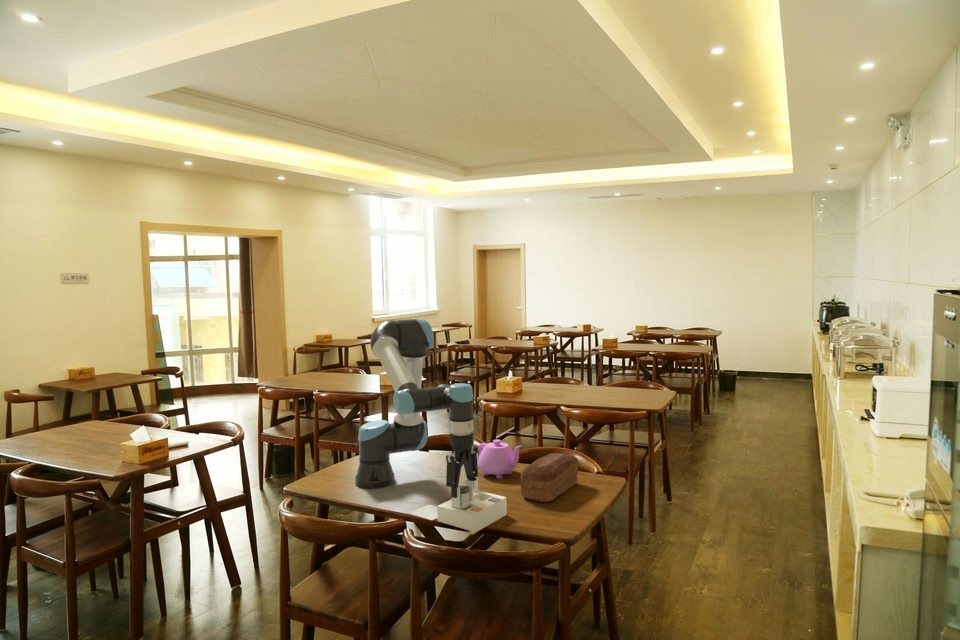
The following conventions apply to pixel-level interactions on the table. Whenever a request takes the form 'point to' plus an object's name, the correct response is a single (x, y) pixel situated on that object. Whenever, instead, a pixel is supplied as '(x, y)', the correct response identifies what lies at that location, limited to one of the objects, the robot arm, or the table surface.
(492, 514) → the socket block
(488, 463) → the teapot
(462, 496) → the plug
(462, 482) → the cup
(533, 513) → the table surface
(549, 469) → the bread
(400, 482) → the table surface
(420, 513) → the white flat square plate
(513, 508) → the table surface
